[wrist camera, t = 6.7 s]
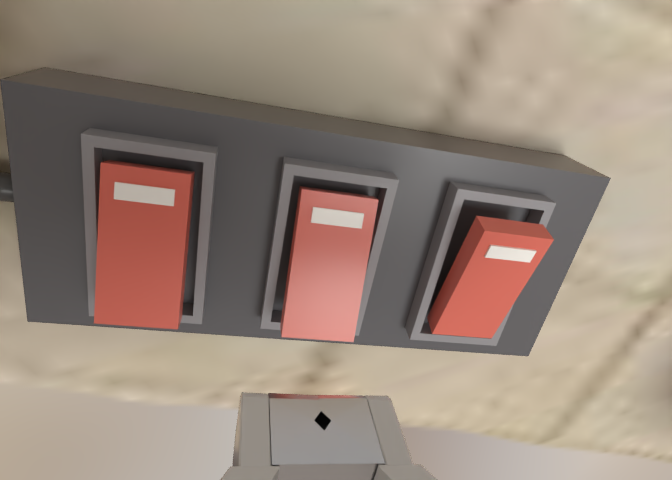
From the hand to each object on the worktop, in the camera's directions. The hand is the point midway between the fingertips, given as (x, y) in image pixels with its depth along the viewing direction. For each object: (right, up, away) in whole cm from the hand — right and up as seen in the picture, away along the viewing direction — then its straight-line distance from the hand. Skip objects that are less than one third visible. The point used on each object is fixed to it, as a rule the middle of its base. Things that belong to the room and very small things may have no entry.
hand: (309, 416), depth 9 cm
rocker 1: (-7, +3, +8) cm, 11 cm away
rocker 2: (0, +2, +9) cm, 10 cm away
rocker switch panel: (-2, +5, +13) cm, 14 cm away
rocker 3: (+7, +2, +11) cm, 13 cm away
